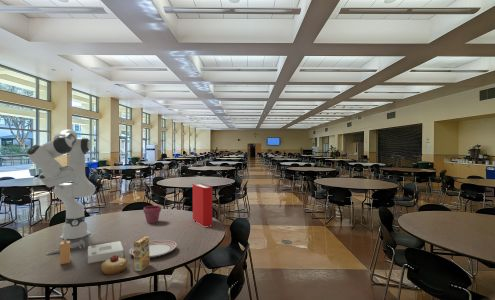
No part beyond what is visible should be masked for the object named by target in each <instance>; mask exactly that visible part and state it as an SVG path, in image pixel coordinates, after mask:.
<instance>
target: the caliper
mask: <svg viewBox="0 0 495 300" xmlns="http://www.w3.org/2000/svg"><path fill="white" fill-rule="evenodd" d="M77 247H79V249H81V250H82V247H83V249H85V247H86V244H85V240H84V239H79V241H75V242H73V243H70V249H74V248H77ZM58 252H59V253H60V248H57V249H54V250H51V251H48V252H47V253H45V255H44V256H49V255H53V254H56V253H58Z"/></svg>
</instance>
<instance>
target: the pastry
mask: <svg viewBox="0 0 495 300" xmlns="http://www.w3.org/2000/svg"><path fill="white" fill-rule="evenodd" d="M127 264H128V260H127V259H126V258H125V257H124V256H123V257H120V258H119V257H118V256H117V255H114V256H112V257H111V258H110V259H108V260H104V261H102V263H101V271H102V273H104V274H105V275H111V276H112V275H117V274H119V273H122V272H123V271H124V270H125V269H126V267H127Z"/></svg>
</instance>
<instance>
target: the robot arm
mask: <svg viewBox="0 0 495 300" xmlns="http://www.w3.org/2000/svg"><path fill="white" fill-rule="evenodd" d="M91 148H92V143H91V141H90V139H89V138H86V137H78V134H77V132H76V131H75V130H73V129H69V128H68V129H63V130H60V131H59V132H57V133H56V134H55V135H54V137H53V138H52V140H50V141H48V142H45V143H43V144H39V143H38V144H34V145H33V146H30V147H29V148H28V150H27V151H26V155H27V157H28V158H29V159H30V161H32V164H34V165H35V166H36V167H39V169H40V171H41V173H40V174H39V175H38V177H37V178H38V179H39V180H41V182H42V183H43V184H44V185H45V186H46V187H47V188H51V187H54V189H53V194H54V196H55V197H56V198H58V200H61V202H62V203H63V205H64V207H65V224H64V225H63V226H62V235H60V236H59V239H60V240H61V239H62V240H64V239H66V240H74V239H81V238H84V237H86V236H90V235H91V232H90V230H88V222H86V218H85V217H86V216H85V206H84V204H83V203H81V202H79V201H78V200H76V199H77V198H78V199H79V198H88V197H92V196H93V195H94V194H95V193H96V187H95V185H94V183H92V182H91V181H90V180H89V179H88V177H87V176H86V154H87V153H88V152H89V151H90V150H91ZM65 154H69V155H68V158H67V165H65V166H62V164H61V163H60V162H59V161H57V160H56V158H57V157H60V156H63V155H65Z"/></svg>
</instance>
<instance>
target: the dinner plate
mask: <svg viewBox="0 0 495 300" xmlns="http://www.w3.org/2000/svg"><path fill="white" fill-rule="evenodd" d="M177 247H178V246H177V243H176V241H173V240H169V239H168V240H167V239H156V240H149V256H150V259H152V258H157V256H158V257H161V255H162V256H164V255H167V254H169V253H170V252H173V251H174V250H175V249H176V248H177ZM128 251H129V254H130V255H132V256H134V246H133V247H132V248H130V249H129V250H128Z"/></svg>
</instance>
